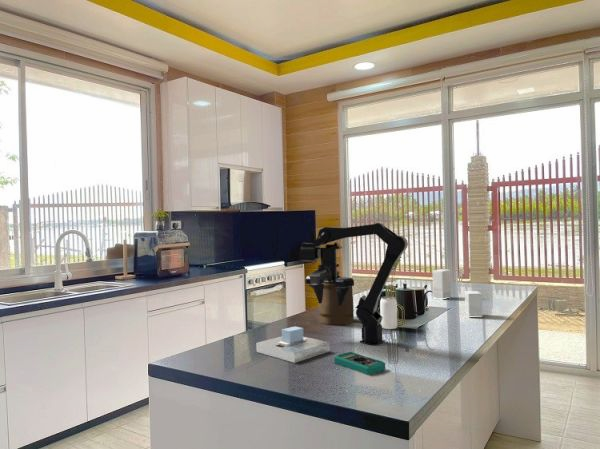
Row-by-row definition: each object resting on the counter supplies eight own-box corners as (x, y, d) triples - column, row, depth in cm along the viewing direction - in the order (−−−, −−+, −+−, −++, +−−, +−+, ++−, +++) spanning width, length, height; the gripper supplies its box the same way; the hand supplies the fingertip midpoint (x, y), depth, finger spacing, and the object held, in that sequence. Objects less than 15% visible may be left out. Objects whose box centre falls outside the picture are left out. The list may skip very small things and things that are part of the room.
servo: (307, 349, 149) (306, 327, 149) (285, 356, 142) (285, 332, 142) (299, 347, 152) (298, 325, 152) (277, 353, 145) (276, 330, 145)
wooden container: (343, 316, 201) (342, 267, 201) (360, 323, 187) (358, 270, 187) (313, 319, 196) (312, 269, 196) (327, 326, 182) (326, 272, 182)
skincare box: (441, 297, 246) (440, 268, 246) (452, 298, 241) (451, 269, 241) (432, 299, 241) (431, 270, 241) (443, 300, 235) (442, 270, 235)
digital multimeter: (369, 377, 122) (369, 366, 122) (333, 364, 134) (333, 354, 134) (387, 371, 126) (387, 361, 126) (351, 359, 138) (350, 350, 138)
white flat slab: (329, 351, 146) (329, 342, 146) (294, 362, 135) (294, 353, 135) (291, 342, 159) (291, 333, 159) (256, 351, 148) (256, 342, 148)
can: (390, 330, 173) (389, 299, 173) (377, 327, 178) (376, 297, 178) (400, 327, 177) (400, 297, 177) (387, 325, 182) (387, 295, 182)
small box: (482, 318, 190) (482, 293, 190) (469, 318, 191) (468, 293, 191) (478, 314, 198) (477, 290, 198) (465, 314, 199) (464, 290, 199)
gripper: (294, 262, 162) (295, 305, 162) (333, 264, 149) (335, 311, 149) (315, 260, 170) (316, 301, 170) (354, 261, 157) (355, 306, 157)
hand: (329, 304), depth 162 cm, fingers open, 9 cm apart
